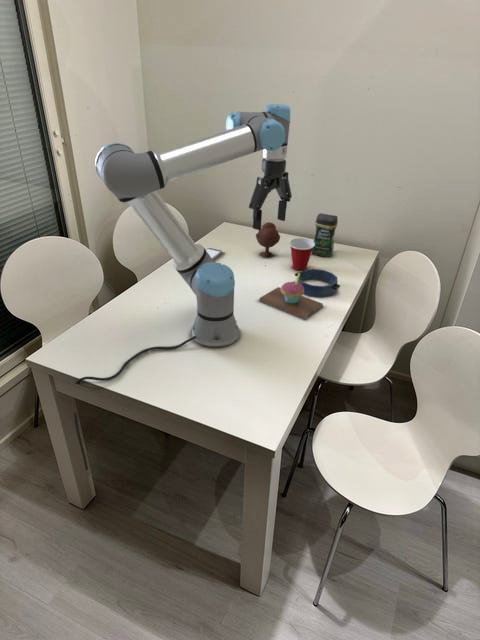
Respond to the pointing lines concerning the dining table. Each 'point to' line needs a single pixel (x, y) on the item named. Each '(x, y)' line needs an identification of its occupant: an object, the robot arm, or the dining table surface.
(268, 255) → the ice cream bowl
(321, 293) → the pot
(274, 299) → the cutting board
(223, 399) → the dining table surface
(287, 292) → the cupcake
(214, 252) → the smartphone
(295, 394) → the dining table surface
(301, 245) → the plastic cup
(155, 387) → the dining table surface
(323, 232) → the coffee jar
